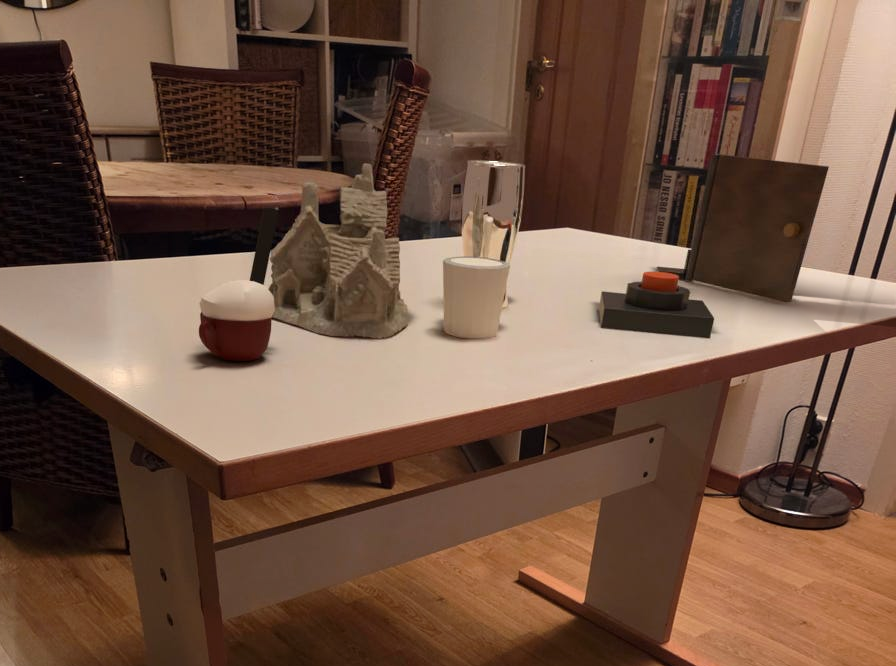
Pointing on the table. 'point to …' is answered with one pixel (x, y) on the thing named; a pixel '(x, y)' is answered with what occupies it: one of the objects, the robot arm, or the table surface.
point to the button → (660, 281)
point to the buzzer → (655, 312)
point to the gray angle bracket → (677, 269)
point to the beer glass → (492, 209)
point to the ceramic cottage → (340, 267)
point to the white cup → (473, 295)
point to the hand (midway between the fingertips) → (787, 20)
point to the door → (755, 224)
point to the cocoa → (242, 306)
